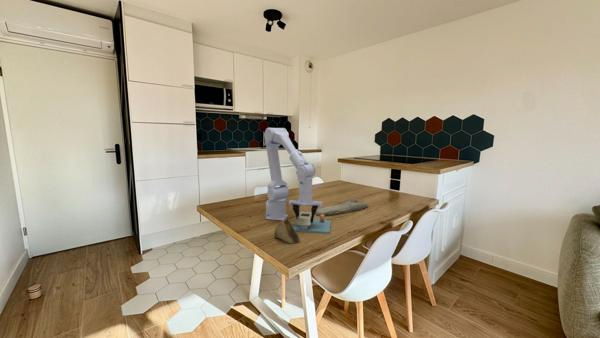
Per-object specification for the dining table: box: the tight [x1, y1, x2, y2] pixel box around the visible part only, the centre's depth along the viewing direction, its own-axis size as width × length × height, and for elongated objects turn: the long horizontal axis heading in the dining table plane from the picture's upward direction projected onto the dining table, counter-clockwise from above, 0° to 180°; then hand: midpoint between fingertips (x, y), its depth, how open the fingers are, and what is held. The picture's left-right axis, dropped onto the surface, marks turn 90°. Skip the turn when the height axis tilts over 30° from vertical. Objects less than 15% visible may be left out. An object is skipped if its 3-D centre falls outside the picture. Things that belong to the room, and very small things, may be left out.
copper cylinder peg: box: [319, 214, 325, 223], centre depth 118 cm, size 2×2×3 cm
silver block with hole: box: [296, 211, 312, 225], centre depth 112 cm, size 6×9×3 cm, turn 171°
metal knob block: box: [300, 225, 309, 230], centre depth 112 cm, size 3×8×5 cm, turn 171°
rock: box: [273, 217, 301, 244], centre depth 100 cm, size 11×9×10 cm
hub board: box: [293, 219, 332, 235], centre depth 114 cm, size 16×14×1 cm
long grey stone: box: [314, 198, 368, 218], centre depth 138 cm, size 35×5×10 cm
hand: (305, 221), depth 112 cm, fingers closed on silver block with hole, 6 cm apart
